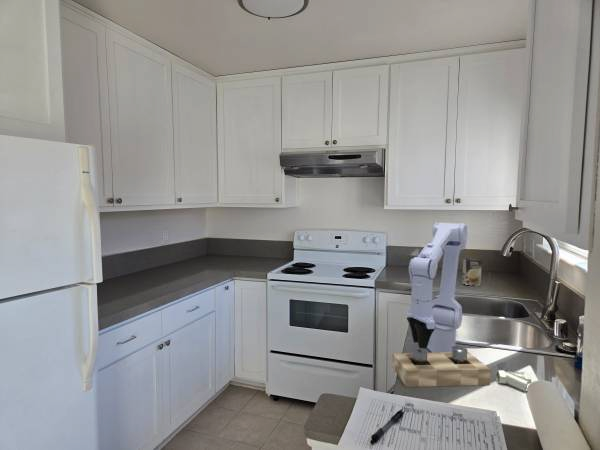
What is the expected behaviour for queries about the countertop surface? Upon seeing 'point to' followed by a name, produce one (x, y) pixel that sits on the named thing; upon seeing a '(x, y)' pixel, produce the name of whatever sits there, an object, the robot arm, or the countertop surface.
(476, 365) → the socket block
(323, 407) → the countertop surface
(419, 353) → the peg
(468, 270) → the coffee box
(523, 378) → the pipe fitting
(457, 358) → the peg
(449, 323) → the robot arm
